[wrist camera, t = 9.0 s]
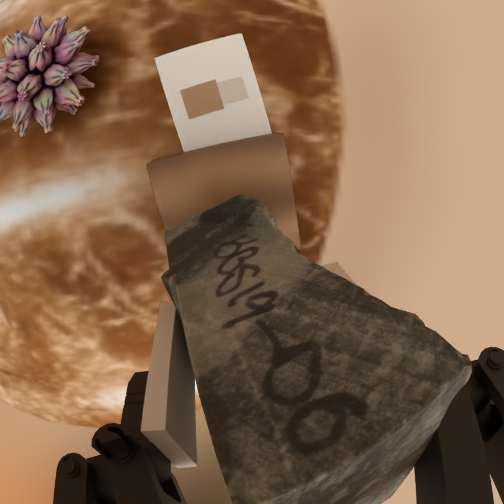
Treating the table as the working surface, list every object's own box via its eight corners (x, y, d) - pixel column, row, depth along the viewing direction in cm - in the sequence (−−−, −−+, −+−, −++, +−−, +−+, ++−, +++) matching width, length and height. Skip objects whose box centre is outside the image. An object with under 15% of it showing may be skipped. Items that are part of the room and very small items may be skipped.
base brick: (151, 160, 28) (146, 164, 25) (276, 132, 28) (283, 133, 26) (181, 264, 33) (179, 276, 30) (293, 237, 34) (300, 248, 31)
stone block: (240, 186, 16) (147, 211, 15) (504, 330, 4) (216, 515, 2) (263, 316, 20) (189, 341, 18) (400, 491, 7) (279, 554, 6)
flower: (106, 14, 20) (61, -29, 9) (125, 108, 25) (78, 100, 14) (21, 60, 19) (-43, 49, 9) (37, 149, 25) (-29, 168, 14)
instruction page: (154, 59, 23) (154, 57, 23) (241, 34, 23) (241, 32, 23) (188, 164, 28) (187, 165, 28) (272, 138, 29) (273, 138, 28)
